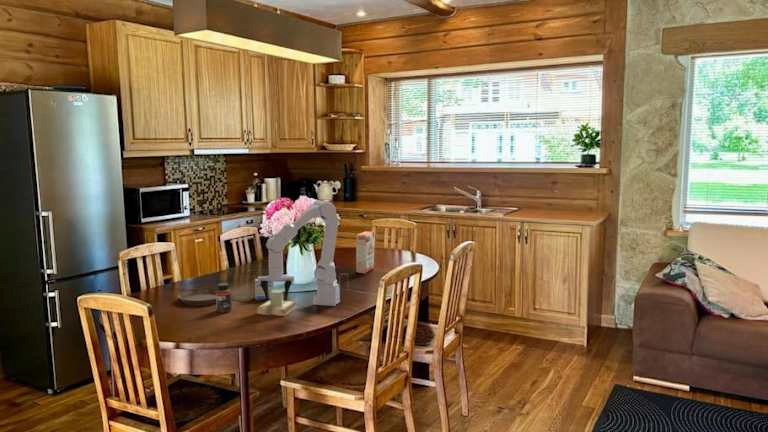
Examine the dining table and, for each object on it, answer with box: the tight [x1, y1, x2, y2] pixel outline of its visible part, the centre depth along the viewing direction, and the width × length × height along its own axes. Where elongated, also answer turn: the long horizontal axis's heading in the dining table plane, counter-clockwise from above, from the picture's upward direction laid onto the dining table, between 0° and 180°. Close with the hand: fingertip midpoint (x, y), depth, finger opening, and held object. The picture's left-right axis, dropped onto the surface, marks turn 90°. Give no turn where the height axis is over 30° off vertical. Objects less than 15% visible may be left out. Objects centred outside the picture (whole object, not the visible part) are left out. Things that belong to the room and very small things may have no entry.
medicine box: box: [254, 278, 274, 301], centre depth 258 cm, size 8×4×9 cm, turn 105°
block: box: [269, 289, 284, 306], centre depth 239 cm, size 4×4×6 cm
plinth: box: [256, 299, 297, 317], centre depth 239 cm, size 12×12×3 cm
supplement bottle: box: [215, 282, 233, 314], centre depth 238 cm, size 6×6×11 cm
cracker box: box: [355, 231, 375, 274], centre depth 310 cm, size 14×6×21 cm, turn 163°
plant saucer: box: [177, 287, 218, 306], centre depth 255 cm, size 21×21×3 cm
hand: (276, 298), depth 238 cm, fingers open, 7 cm apart
